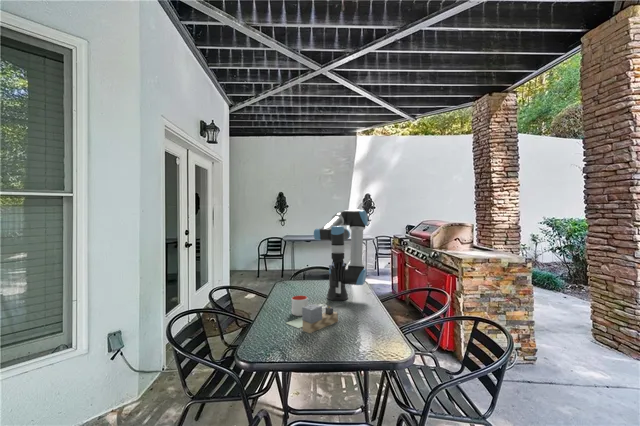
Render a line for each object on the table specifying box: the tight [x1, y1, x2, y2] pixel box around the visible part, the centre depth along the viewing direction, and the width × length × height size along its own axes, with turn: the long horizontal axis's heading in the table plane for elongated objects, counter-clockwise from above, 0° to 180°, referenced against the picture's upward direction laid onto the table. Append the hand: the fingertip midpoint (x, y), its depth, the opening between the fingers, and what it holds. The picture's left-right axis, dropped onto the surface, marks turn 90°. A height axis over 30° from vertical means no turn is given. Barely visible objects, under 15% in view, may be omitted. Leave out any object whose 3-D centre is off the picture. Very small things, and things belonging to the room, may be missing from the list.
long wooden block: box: [302, 311, 339, 334], centre depth 160 cm, size 22×6×5 cm, turn 136°
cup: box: [290, 295, 309, 317], centre depth 180 cm, size 10×10×10 cm
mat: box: [285, 316, 303, 330], centre depth 165 cm, size 12×11×1 cm
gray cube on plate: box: [301, 303, 323, 324], centre depth 156 cm, size 8×7×7 cm
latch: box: [324, 305, 334, 314], centre depth 165 cm, size 3×3×4 cm
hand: (338, 292), depth 171 cm, fingers closed
